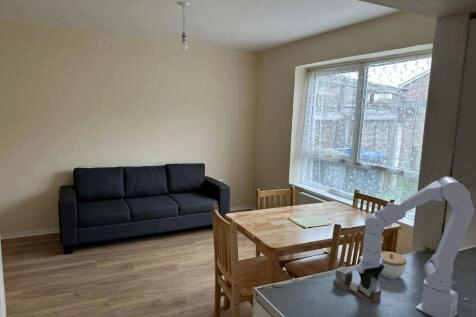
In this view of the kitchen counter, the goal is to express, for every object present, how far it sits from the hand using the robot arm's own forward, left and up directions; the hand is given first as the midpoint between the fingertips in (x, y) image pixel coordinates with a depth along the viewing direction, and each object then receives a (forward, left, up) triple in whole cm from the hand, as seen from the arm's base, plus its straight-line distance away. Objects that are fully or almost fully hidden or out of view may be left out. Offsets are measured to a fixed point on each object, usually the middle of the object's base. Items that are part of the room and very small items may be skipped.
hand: (369, 285), depth 112 cm
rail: (+5, 0, -4) cm, 6 cm away
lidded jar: (+3, -21, -4) cm, 22 cm away
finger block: (+1, 0, -2) cm, 2 cm away
